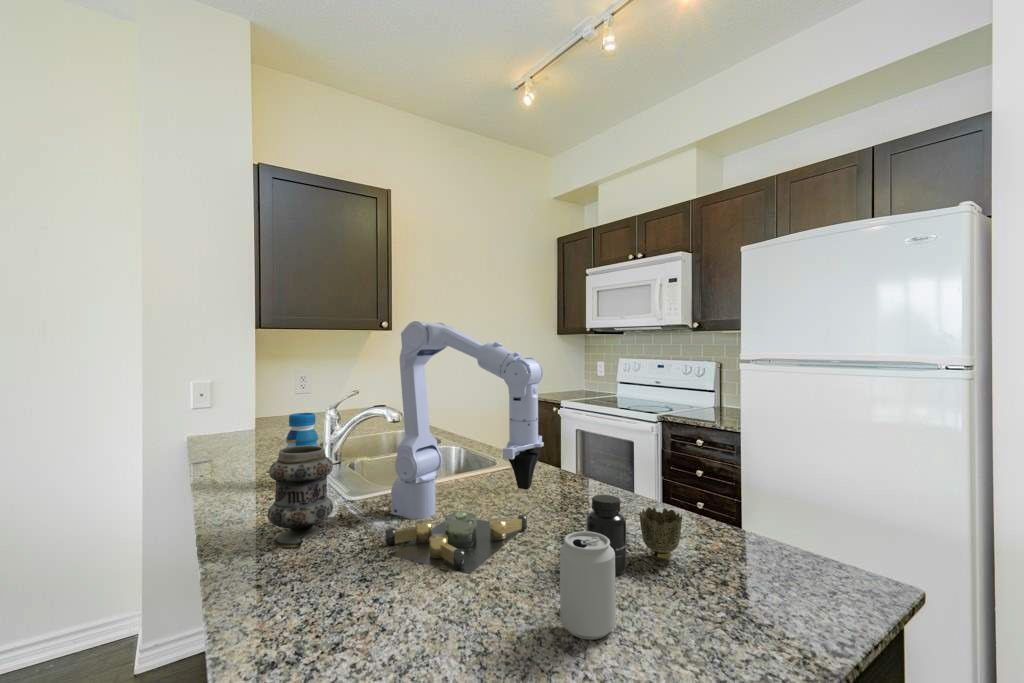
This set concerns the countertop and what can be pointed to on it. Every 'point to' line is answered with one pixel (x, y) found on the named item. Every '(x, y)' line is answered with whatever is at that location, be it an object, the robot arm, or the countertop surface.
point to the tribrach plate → (469, 551)
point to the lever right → (506, 526)
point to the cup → (660, 532)
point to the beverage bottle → (302, 430)
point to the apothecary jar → (300, 493)
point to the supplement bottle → (609, 526)
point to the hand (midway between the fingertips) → (524, 488)
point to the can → (587, 585)
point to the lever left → (410, 533)
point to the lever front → (446, 550)
